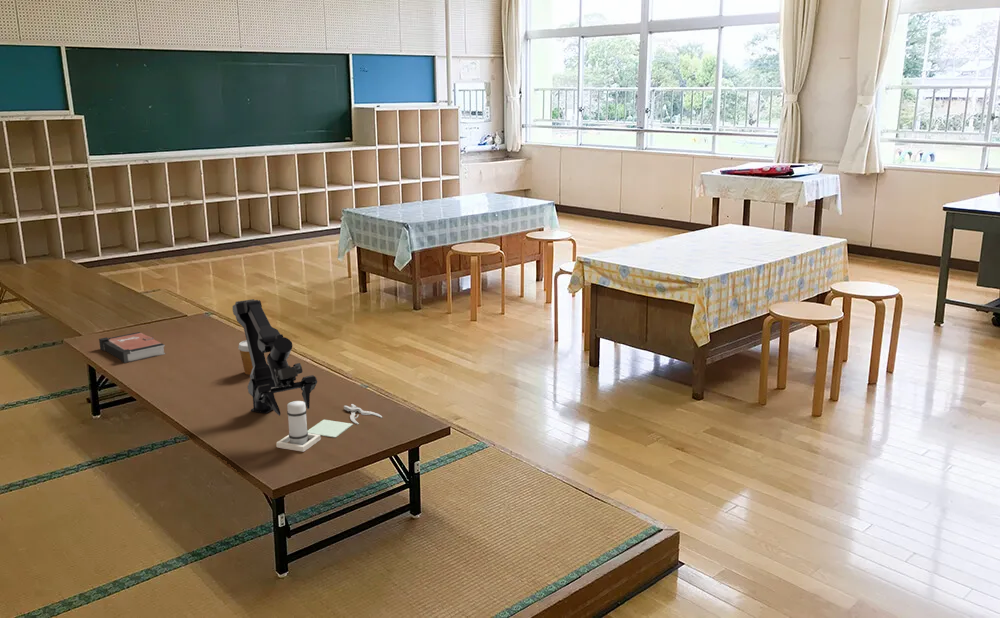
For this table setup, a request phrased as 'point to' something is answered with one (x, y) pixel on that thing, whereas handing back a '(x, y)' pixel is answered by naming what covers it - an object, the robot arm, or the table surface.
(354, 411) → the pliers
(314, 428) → the mat
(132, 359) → the book
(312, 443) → the white square frame
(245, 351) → the disposable coffee cup
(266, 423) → the table surface
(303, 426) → the grey-banded white cylinder
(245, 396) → the table surface
